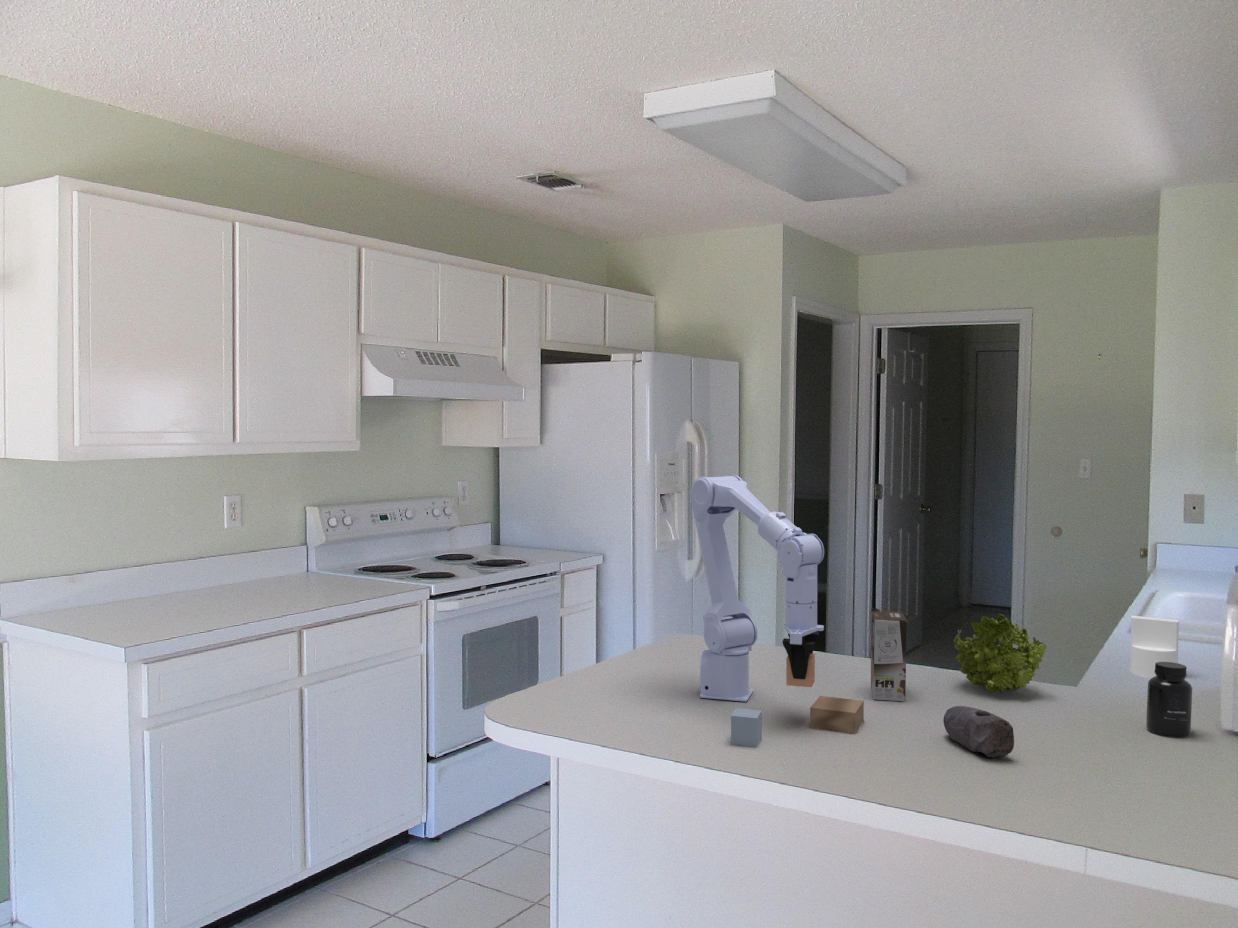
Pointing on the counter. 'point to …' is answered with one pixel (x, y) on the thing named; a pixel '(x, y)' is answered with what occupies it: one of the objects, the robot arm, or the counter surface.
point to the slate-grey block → (746, 727)
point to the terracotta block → (809, 676)
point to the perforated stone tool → (979, 731)
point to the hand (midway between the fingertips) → (801, 674)
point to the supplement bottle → (1169, 701)
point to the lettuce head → (999, 655)
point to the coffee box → (888, 655)
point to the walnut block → (837, 714)
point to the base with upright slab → (1152, 644)
